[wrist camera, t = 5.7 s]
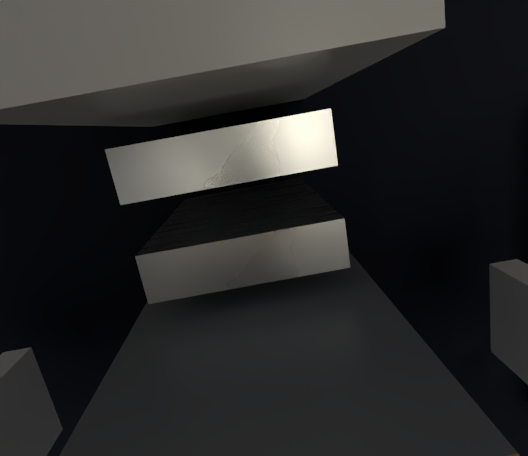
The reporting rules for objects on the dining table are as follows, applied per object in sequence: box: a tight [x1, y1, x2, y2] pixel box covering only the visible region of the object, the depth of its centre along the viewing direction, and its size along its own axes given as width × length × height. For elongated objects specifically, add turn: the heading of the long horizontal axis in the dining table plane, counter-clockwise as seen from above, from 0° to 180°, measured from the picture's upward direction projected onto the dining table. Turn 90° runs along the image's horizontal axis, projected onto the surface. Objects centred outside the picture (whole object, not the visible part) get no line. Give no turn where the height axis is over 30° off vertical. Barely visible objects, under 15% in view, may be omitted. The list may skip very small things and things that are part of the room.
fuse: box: [59, 252, 520, 456], centre depth 8 cm, size 5×5×12 cm
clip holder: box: [105, 108, 350, 304], centre depth 11 cm, size 6×28×6 cm, turn 10°
